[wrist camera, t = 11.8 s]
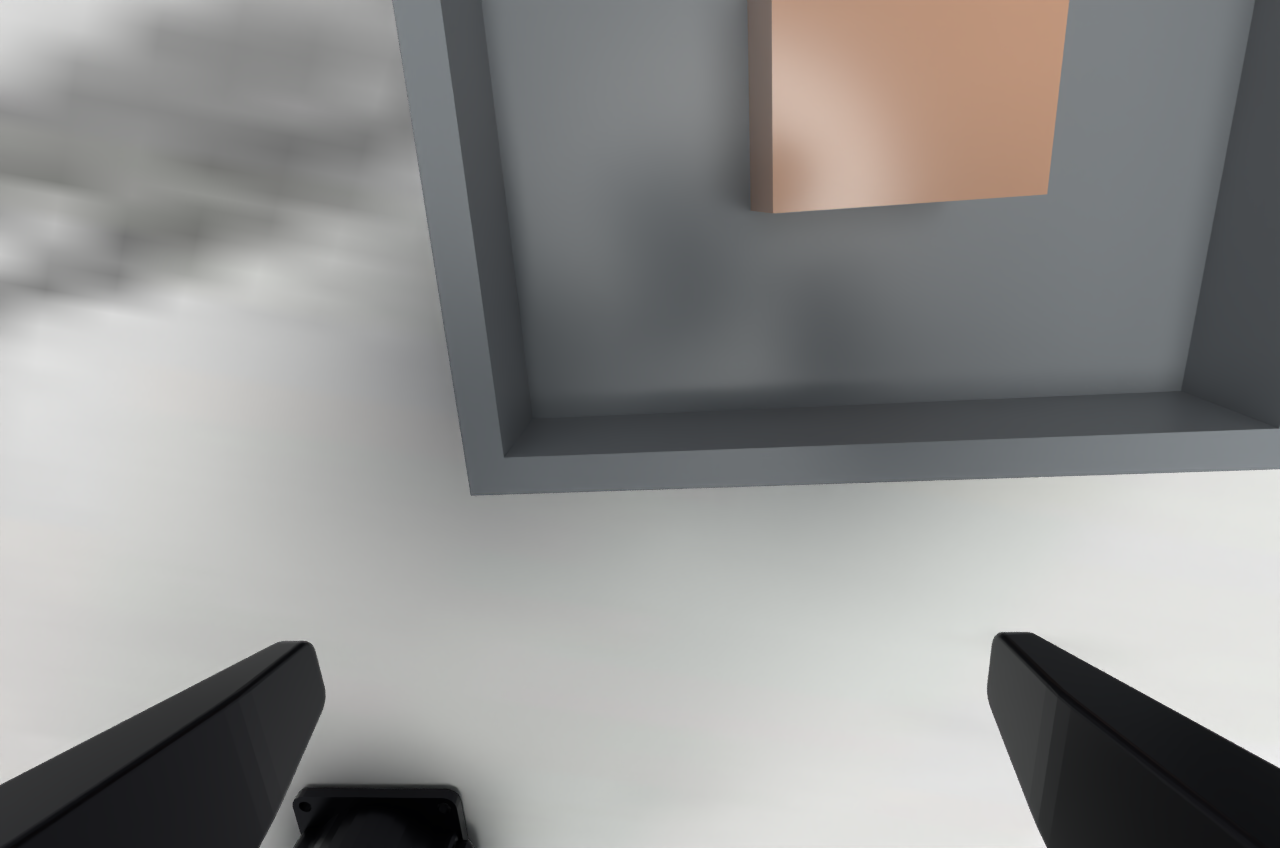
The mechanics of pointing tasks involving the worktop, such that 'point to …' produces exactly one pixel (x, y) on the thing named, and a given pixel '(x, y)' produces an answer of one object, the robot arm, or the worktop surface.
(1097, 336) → the bin
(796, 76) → the brown block
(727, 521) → the worktop surface
